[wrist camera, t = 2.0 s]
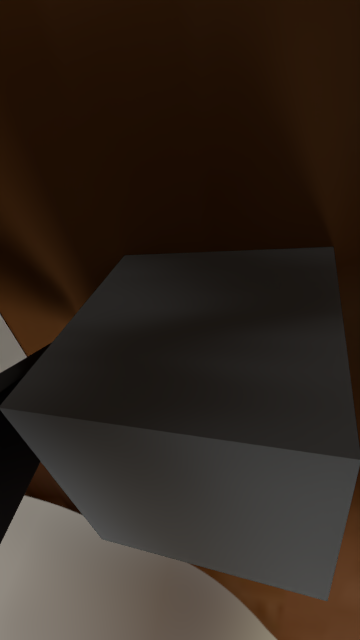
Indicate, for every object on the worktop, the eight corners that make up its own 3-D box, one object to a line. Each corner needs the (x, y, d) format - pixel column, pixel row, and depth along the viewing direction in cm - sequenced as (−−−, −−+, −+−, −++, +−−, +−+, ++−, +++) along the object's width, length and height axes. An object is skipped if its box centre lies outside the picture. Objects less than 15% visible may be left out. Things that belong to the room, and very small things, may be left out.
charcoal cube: (333, 245, 7) (361, 459, 4) (319, 397, 10) (327, 601, 7) (125, 254, 9) (-2, 407, 5) (165, 382, 12) (102, 538, 8)
